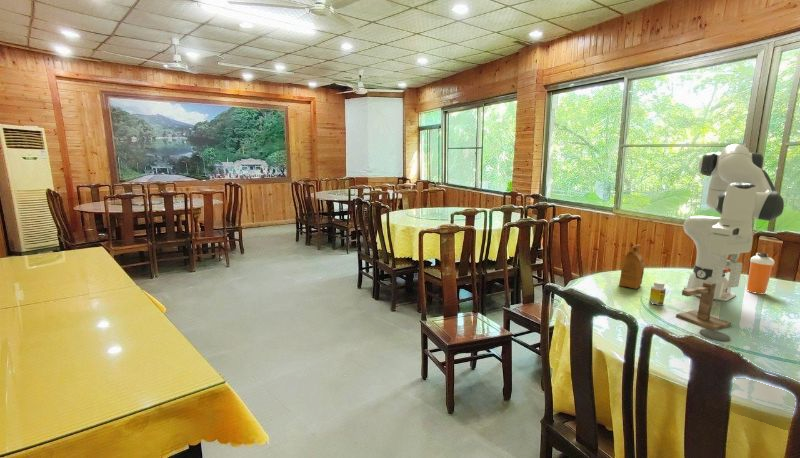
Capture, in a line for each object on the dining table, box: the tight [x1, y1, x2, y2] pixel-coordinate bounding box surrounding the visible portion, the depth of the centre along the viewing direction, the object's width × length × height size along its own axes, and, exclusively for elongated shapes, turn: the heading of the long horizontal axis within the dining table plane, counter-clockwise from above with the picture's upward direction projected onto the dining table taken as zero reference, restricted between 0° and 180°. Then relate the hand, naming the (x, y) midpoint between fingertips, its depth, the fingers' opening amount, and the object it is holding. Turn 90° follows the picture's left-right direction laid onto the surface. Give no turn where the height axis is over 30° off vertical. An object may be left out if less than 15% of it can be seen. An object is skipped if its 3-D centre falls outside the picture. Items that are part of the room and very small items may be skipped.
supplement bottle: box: [648, 280, 667, 306], centre depth 177 cm, size 6×6×10 cm
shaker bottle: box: [746, 252, 775, 294], centre depth 197 cm, size 9×9×20 cm
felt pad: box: [698, 328, 731, 342], centre depth 146 cm, size 9×9×1 cm
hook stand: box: [675, 282, 732, 331], centre depth 156 cm, size 22×14×16 cm, turn 114°
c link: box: [711, 258, 744, 288], centre depth 142 cm, size 4×7×9 cm, turn 24°
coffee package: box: [618, 243, 645, 289], centre depth 201 cm, size 10×12×22 cm
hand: (727, 265), depth 141 cm, fingers closed on c link, 3 cm apart
